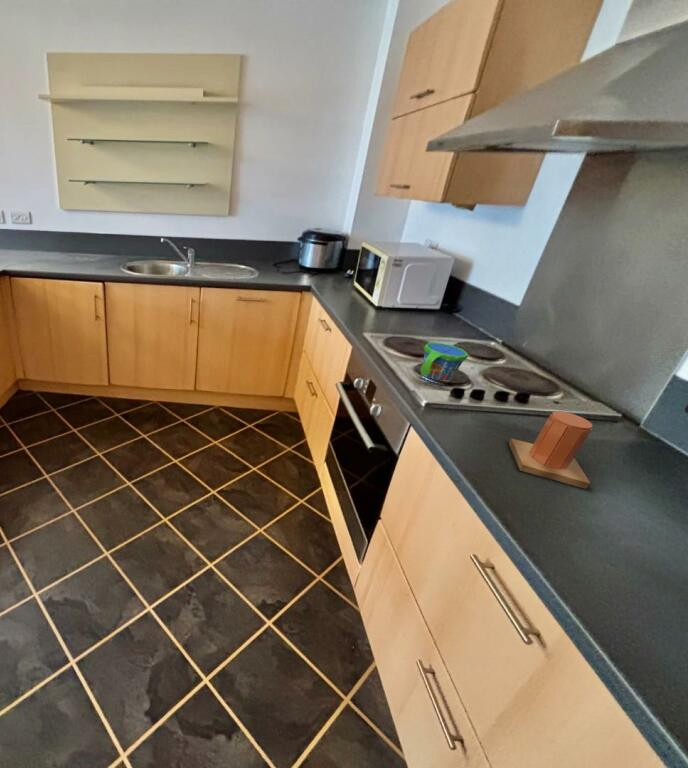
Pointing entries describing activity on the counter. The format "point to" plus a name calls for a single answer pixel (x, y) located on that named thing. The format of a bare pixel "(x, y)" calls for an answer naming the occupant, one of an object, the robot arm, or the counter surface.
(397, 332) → the counter surface
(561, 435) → the terracotta cup
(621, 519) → the counter surface
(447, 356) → the snack cup
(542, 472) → the stand
